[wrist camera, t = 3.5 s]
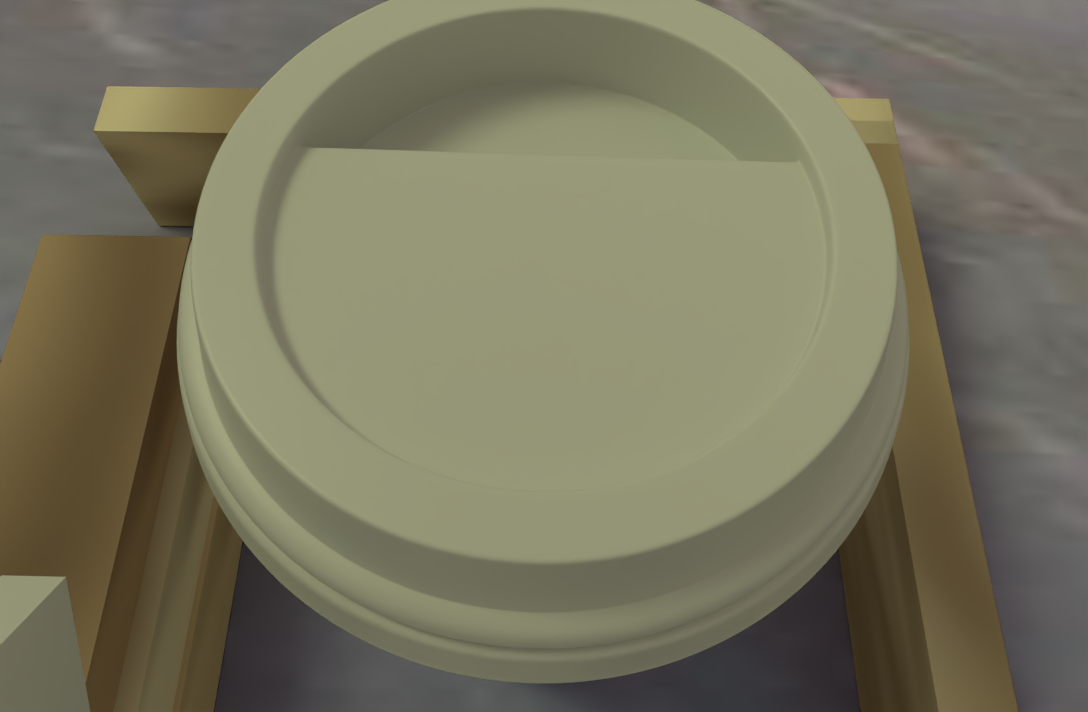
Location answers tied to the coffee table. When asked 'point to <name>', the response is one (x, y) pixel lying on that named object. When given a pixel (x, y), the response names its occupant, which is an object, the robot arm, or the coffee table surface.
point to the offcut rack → (896, 505)
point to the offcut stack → (114, 472)
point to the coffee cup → (543, 331)
